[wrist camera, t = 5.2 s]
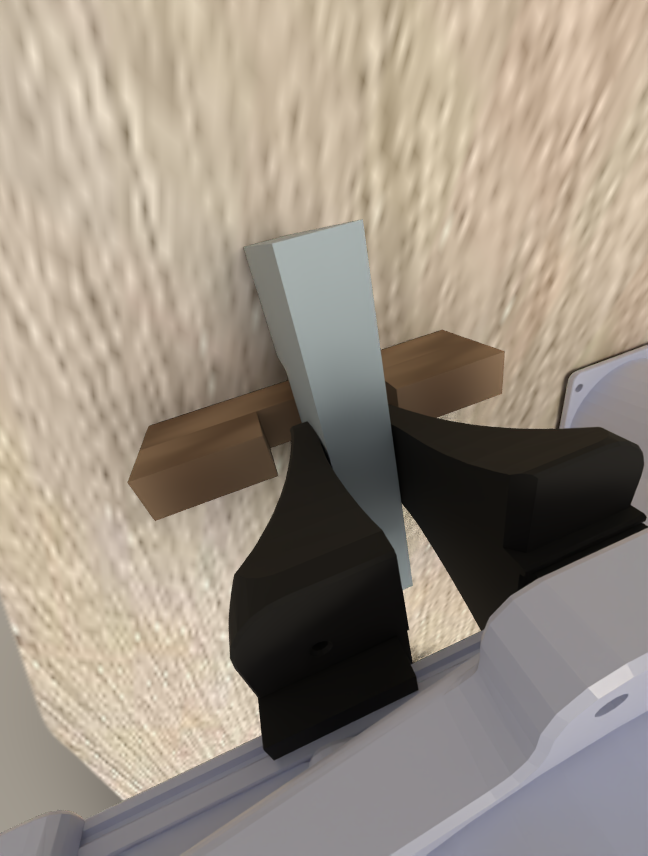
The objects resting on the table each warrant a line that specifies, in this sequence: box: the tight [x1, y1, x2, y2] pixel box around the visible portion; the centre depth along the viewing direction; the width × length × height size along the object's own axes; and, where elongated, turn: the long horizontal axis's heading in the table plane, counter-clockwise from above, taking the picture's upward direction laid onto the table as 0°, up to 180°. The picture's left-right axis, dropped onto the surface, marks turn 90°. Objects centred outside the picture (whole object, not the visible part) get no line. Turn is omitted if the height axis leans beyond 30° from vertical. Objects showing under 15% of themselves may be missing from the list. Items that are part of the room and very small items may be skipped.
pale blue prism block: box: [243, 219, 413, 590], centre depth 12 cm, size 12×2×7 cm, turn 13°
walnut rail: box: [128, 330, 505, 521], centre depth 14 cm, size 14×2×4 cm, turn 103°
